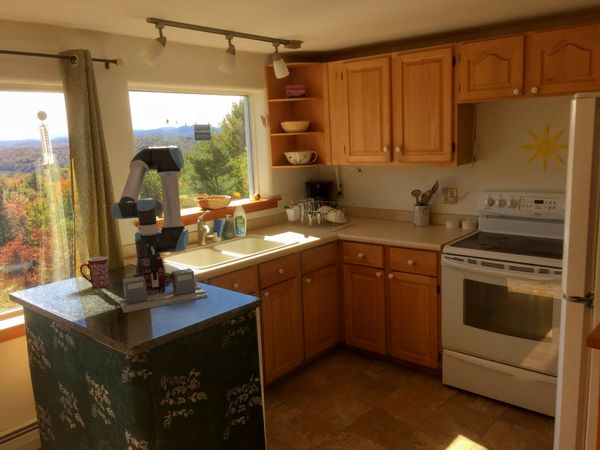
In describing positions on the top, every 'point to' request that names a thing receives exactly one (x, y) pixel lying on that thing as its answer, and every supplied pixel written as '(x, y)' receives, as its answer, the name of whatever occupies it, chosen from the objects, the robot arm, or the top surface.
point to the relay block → (195, 281)
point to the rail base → (181, 292)
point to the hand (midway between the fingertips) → (154, 285)
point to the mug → (97, 271)
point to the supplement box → (147, 275)
